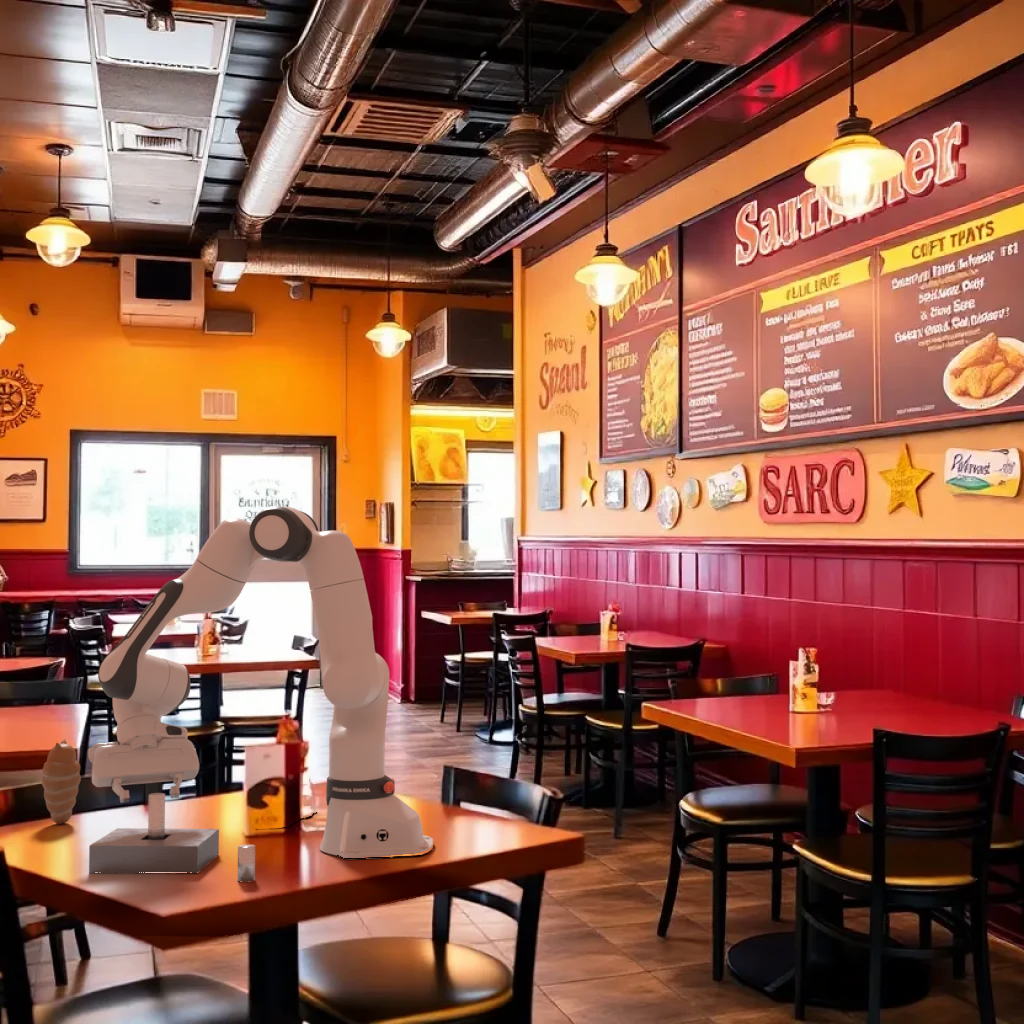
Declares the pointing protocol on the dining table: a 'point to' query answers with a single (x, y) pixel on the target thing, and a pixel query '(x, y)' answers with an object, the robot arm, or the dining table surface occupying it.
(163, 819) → the tall pin
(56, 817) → the cat ice cream
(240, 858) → the short pin
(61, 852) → the dining table surface
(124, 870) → the grey peg hole block
